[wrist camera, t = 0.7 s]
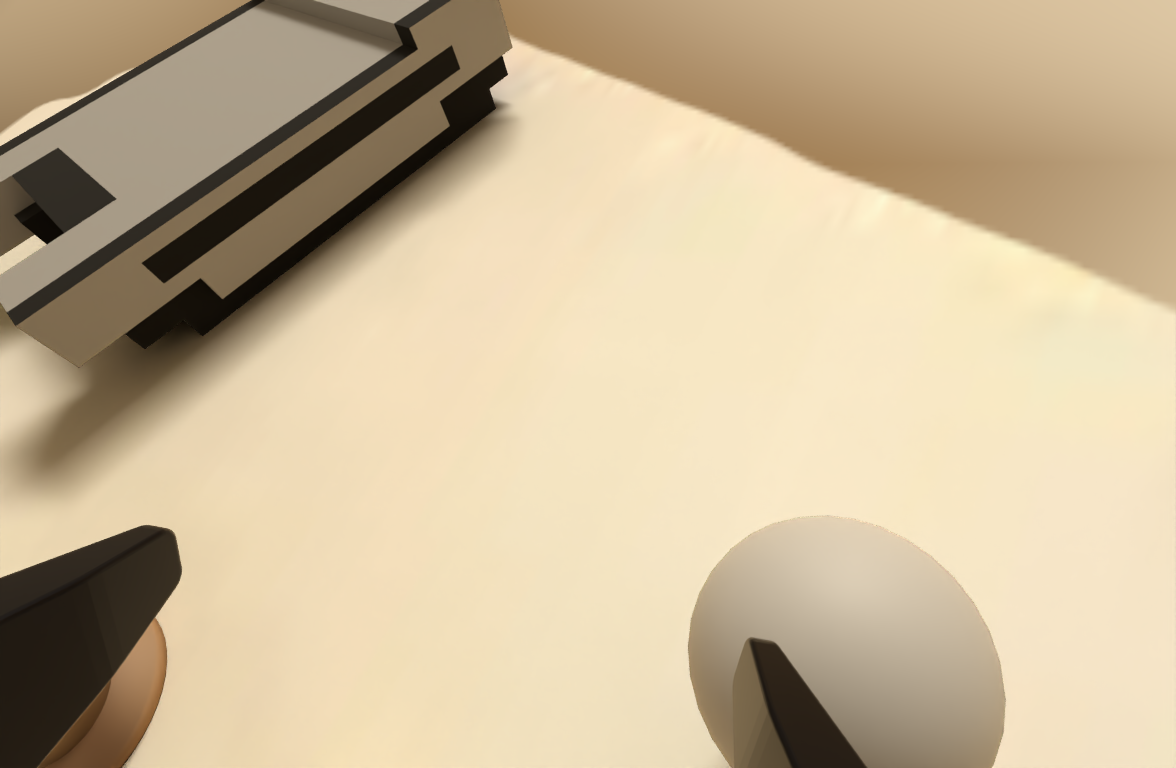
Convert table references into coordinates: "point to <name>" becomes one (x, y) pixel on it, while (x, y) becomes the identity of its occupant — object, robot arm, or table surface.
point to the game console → (232, 160)
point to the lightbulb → (855, 641)
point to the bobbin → (117, 710)
